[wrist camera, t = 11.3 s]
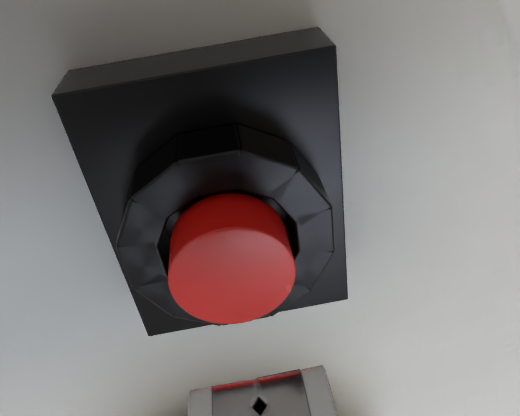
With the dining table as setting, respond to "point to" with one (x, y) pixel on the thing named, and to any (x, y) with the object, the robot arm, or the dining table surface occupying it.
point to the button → (230, 259)
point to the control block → (213, 155)
